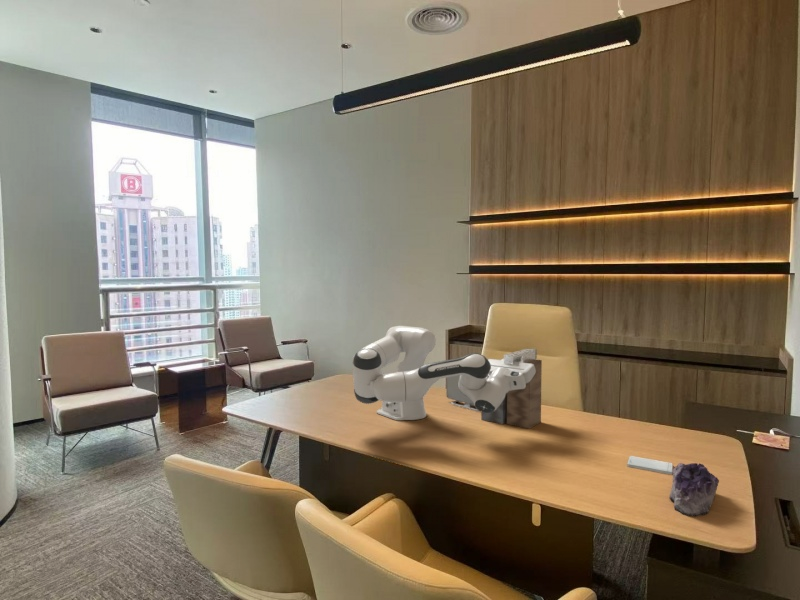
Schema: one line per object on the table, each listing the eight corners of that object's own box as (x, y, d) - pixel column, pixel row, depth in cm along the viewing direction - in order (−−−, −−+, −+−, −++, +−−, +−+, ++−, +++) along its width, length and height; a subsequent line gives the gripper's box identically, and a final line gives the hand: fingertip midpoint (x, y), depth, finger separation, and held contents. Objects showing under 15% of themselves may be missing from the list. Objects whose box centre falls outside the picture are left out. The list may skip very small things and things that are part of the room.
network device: (443, 402, 229) (443, 361, 228) (455, 399, 235) (455, 359, 234) (485, 413, 210) (486, 368, 209) (497, 409, 216) (498, 366, 215)
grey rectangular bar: (503, 364, 185) (503, 354, 185) (527, 357, 202) (527, 348, 202) (513, 366, 183) (513, 355, 182) (536, 358, 200) (536, 349, 199)
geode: (720, 525, 115) (715, 484, 115) (666, 517, 122) (661, 479, 122) (722, 491, 132) (717, 455, 132) (674, 486, 138) (670, 452, 138)
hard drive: (627, 463, 151) (672, 471, 144) (629, 455, 158) (672, 462, 151) (626, 468, 151) (672, 476, 144) (629, 460, 158) (672, 467, 151)
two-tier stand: (481, 419, 201) (481, 358, 200) (495, 413, 211) (495, 355, 210) (528, 429, 188) (528, 364, 187) (540, 422, 197) (541, 360, 196)
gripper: (479, 381, 188) (494, 360, 197) (528, 389, 175) (541, 366, 184) (475, 369, 185) (491, 348, 194) (525, 376, 172) (538, 353, 181)
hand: (516, 357), depth 189 cm, fingers closed on grey rectangular bar, 4 cm apart
